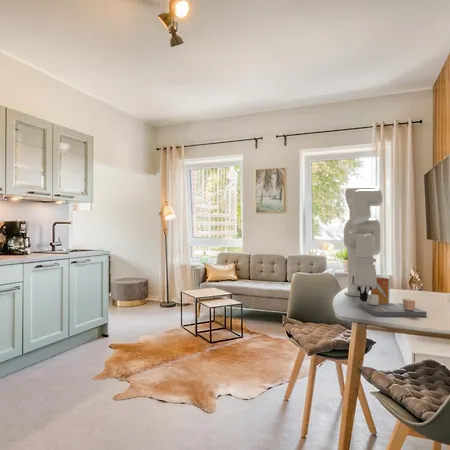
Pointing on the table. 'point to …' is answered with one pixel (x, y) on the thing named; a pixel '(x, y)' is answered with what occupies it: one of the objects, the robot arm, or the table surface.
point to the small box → (382, 289)
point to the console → (391, 310)
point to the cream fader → (372, 299)
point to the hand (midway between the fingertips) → (363, 301)
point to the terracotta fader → (408, 304)
